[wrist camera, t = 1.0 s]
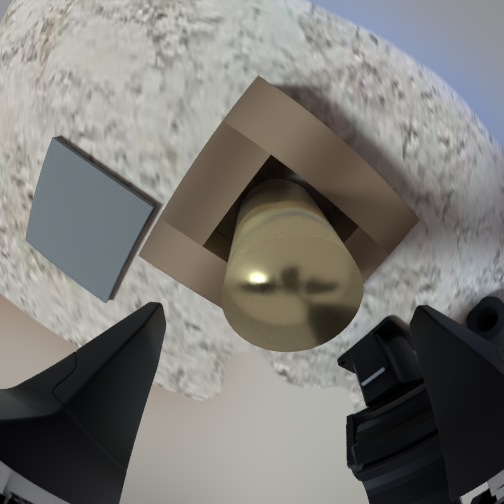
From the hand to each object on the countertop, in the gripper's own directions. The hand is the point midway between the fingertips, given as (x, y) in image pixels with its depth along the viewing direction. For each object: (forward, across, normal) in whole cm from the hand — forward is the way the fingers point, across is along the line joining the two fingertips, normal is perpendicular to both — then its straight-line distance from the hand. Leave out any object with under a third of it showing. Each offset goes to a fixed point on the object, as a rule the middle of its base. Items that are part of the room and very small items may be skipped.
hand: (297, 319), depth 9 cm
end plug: (+10, 0, 0) cm, 10 cm away
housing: (+10, 0, 0) cm, 10 cm away
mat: (+10, +15, 0) cm, 18 cm away
